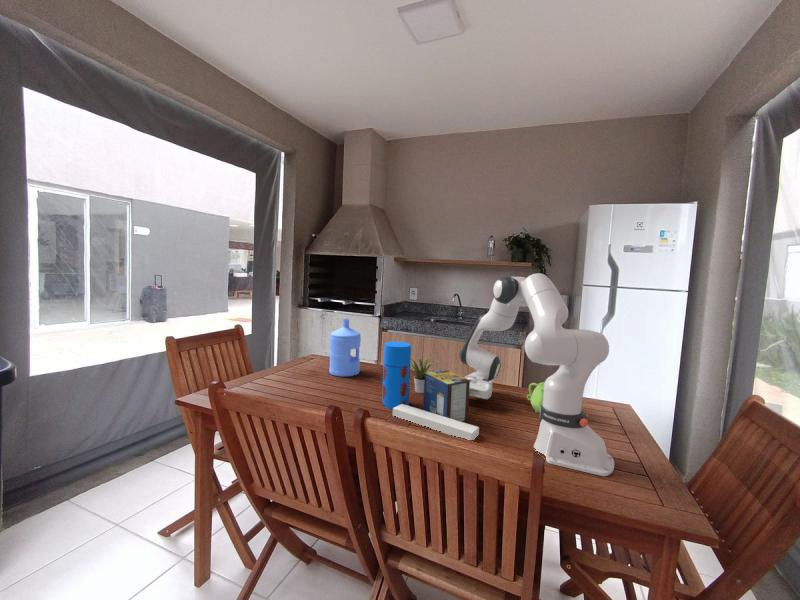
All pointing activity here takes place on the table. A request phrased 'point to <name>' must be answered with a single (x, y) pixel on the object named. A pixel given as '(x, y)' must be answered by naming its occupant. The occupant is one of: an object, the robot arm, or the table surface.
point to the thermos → (396, 374)
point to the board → (436, 422)
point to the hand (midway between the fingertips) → (458, 392)
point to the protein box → (446, 395)
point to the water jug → (344, 351)
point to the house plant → (420, 374)
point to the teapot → (536, 396)
